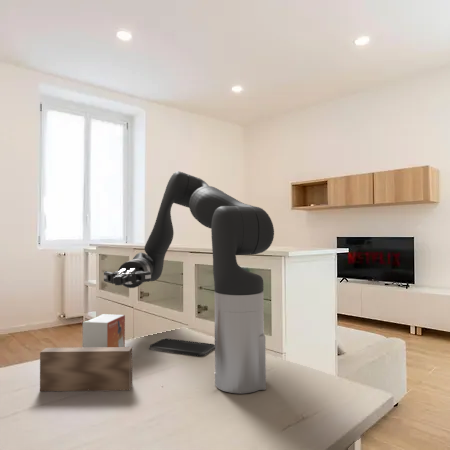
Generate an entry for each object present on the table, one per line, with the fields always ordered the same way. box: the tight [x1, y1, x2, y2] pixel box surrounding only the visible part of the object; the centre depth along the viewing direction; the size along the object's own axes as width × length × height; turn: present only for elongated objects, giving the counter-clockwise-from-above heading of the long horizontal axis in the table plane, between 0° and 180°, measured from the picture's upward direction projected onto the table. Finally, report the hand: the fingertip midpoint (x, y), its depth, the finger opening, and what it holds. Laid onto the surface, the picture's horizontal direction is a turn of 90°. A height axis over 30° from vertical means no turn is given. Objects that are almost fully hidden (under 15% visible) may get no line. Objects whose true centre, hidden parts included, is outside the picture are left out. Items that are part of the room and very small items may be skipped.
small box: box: [82, 313, 126, 347], centre depth 78 cm, size 8×6×10 cm
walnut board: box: [39, 346, 133, 392], centre depth 68 cm, size 16×2×7 cm, turn 91°
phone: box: [148, 337, 215, 357], centre depth 91 cm, size 8×1×15 cm
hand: (118, 281), depth 89 cm, fingers closed
